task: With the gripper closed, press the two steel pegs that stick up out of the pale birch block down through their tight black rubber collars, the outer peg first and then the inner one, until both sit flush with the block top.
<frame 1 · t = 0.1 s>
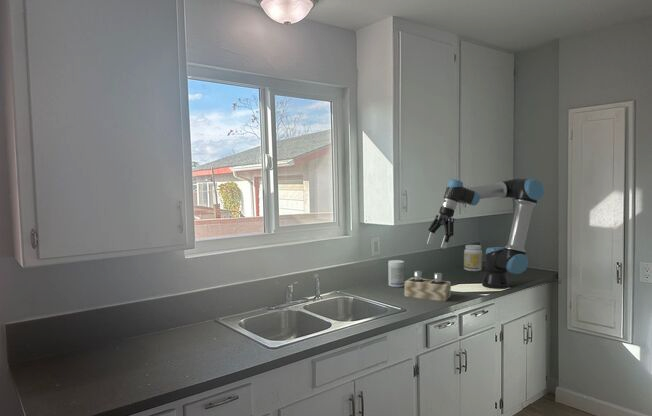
hand: (436, 246, 246), 28 cm above the worktop, tool tilted 20°, fingers open, 13 cm apart
inner peg: (437, 280, 248), point 9 cm above the worktop, slide at 5.0 cm
supplement tub: (396, 286, 275), on the worktop
outer peg: (417, 278, 253), point 9 cm above the worktop, slide at 5.0 cm
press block: (427, 296, 251), on the worktop
supplement tub 2: (472, 270, 323), on the worktop
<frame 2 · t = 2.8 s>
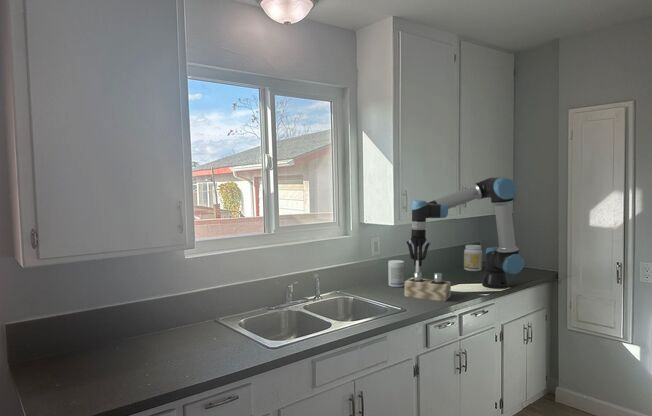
hand: (417, 272, 253), 13 cm above the worktop, tool pointing down, fingers closed
outer peg: (417, 279, 253), point 9 cm above the worktop, slide at 4.5 cm, touching gripper
everything else where it was.
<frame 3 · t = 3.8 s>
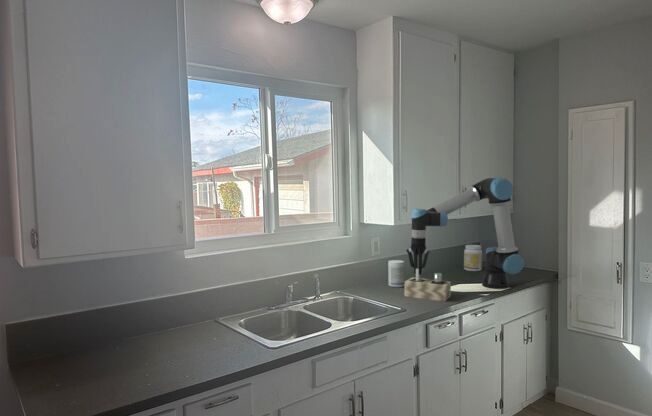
hand: (417, 280, 253), 8 cm above the worktop, tool pointing down, fingers closed
outer peg: (417, 287, 254), point 4 cm above the worktop, slide at 0.0 cm, touching gripper
everything else where it was.
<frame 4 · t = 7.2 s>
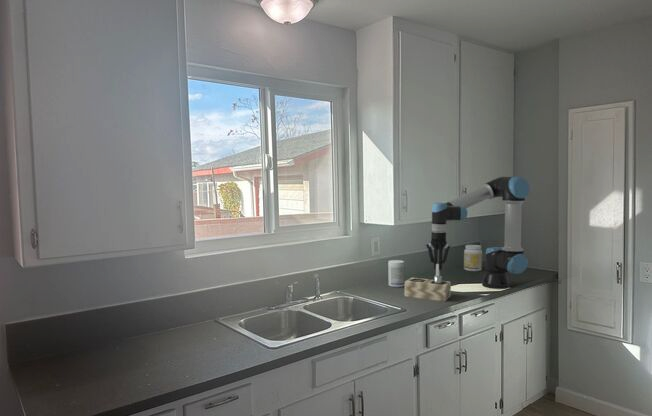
hand: (437, 275, 248), 12 cm above the worktop, tool pointing down, fingers closed
inner peg: (437, 282, 248), point 8 cm above the worktop, slide at 3.6 cm, touching gripper
outer peg: (417, 287, 254), point 4 cm above the worktop, slide at 0.0 cm
everything else where it was.
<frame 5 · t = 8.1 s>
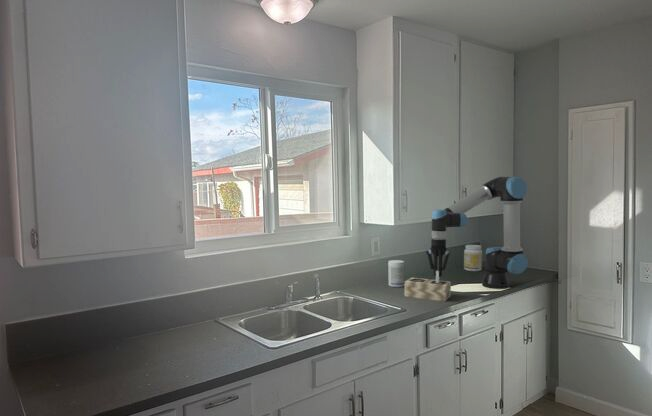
hand: (437, 282, 248), 8 cm above the worktop, tool pointing down, fingers closed
inner peg: (437, 289, 249), point 4 cm above the worktop, slide at 0.0 cm, touching gripper
everything else where it was.
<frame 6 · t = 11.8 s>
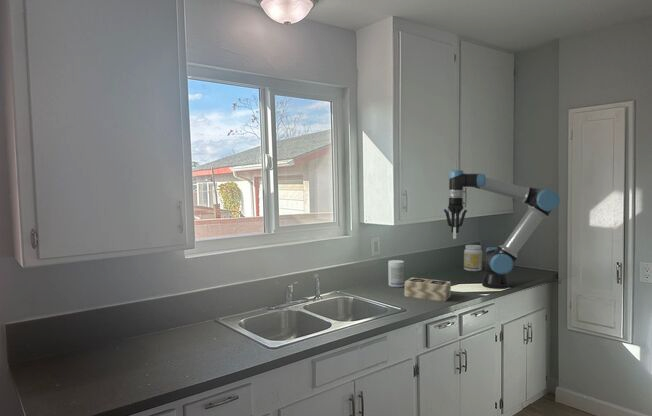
hand: (454, 238, 265), 29 cm above the worktop, tool pointing down, fingers closed
inner peg: (437, 289, 249), point 4 cm above the worktop, slide at 0.0 cm
everything else where it was.
at the end: outer peg slide at 0.0 cm; inner peg slide at 0.0 cm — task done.
